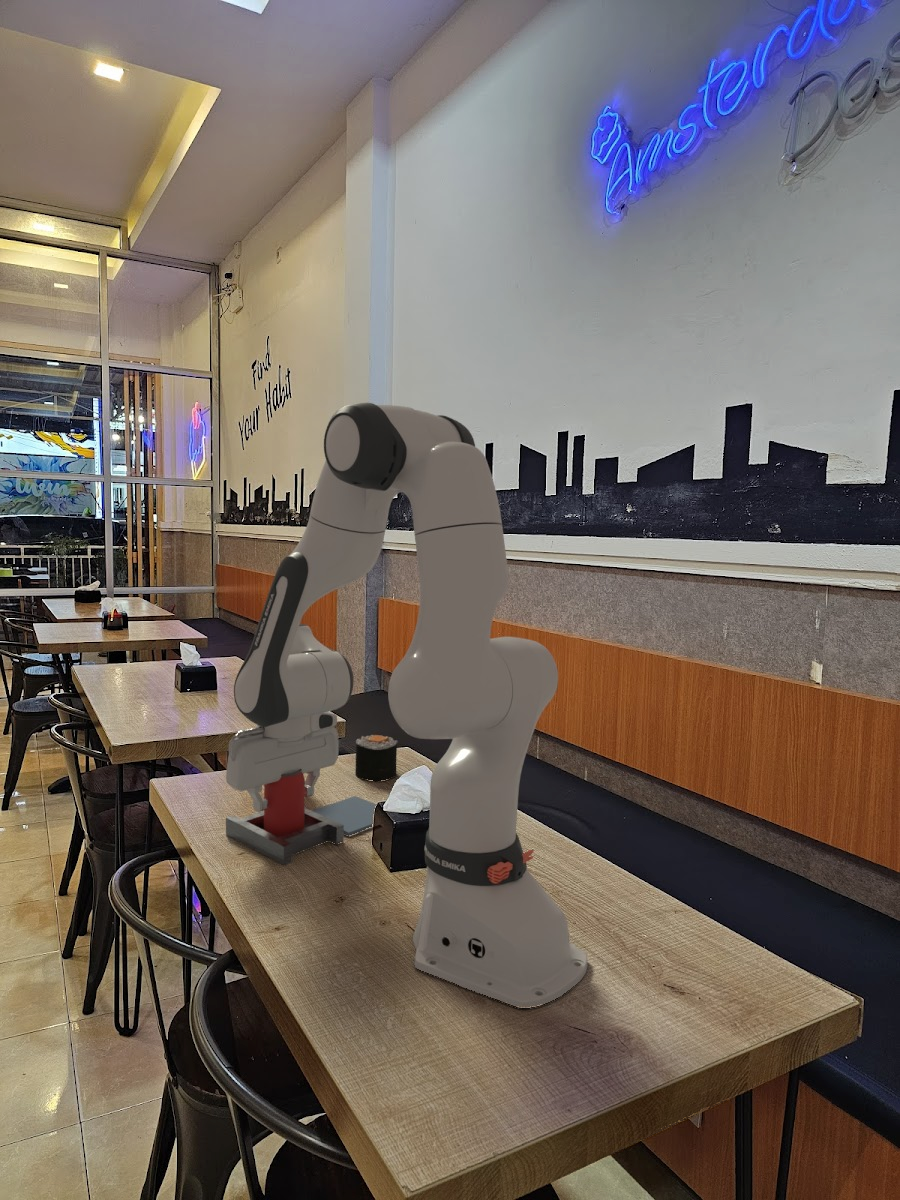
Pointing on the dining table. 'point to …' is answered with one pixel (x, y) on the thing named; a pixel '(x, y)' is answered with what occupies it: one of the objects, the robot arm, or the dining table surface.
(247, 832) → the frame
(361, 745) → the sushi
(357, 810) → the rubber mat
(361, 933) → the dining table surface
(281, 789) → the beer can
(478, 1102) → the dining table surface
